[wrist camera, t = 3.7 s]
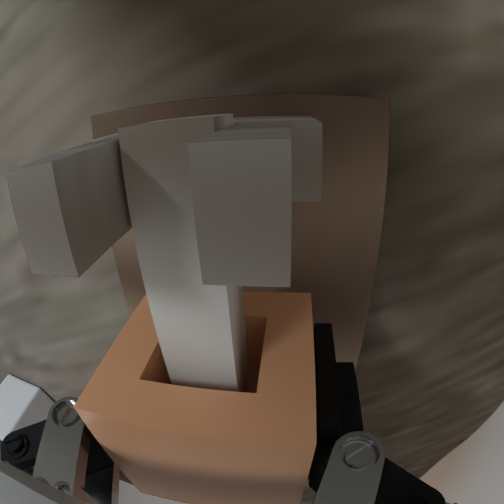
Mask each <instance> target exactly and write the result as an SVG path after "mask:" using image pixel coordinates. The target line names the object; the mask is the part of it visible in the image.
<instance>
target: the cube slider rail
mask: <svg viewBox="0 0 504 504" xmlns="http://www.w3.org/2000/svg"><path fill="white" fill-rule="evenodd" d="M91 121H92V130H93V140H91V142H90V143H87V144H84V145H80V146H77V147H74V148H71V149H68V150H65V151H62V152H59V153H56V154H53V155H50V156H47V157H44V158H41V159H38V160H36V161H33V162H30V163H28V164H25V165H22V166H20V167H17V168H15V169H12V170H10V171H7V172H6V177H7V182H8V187H9V192H10V197H11V201H12V205H13V210H14V214H15V218H16V222H17V225H18V229H19V233H20V236H21V240H22V243H23V247H24V250H25V253H26V256H27V259H28V262H29V265H30V268H31V271H32V274H41V275H53V276H65V277H78V278H79V277H80V276H81V275H82V274H83V273H84V272H85V271H86V270H87V269H88V268H89V267H90V266H91V265H92V264H93V263H94V262H95V261H96V260H97V259H99V258H100V257H101V256H102V255H103V254H104V253H105V252H106V251H107V250H108V249H109V248H110V247H111V246H112V248H113V252H114V257H115V261H116V265H117V269H118V273H119V277H120V281H121V284H122V288H123V292H124V295H125V299H126V302H127V306H128V309H129V313H130V316H131V315H132V314H133V312H134V311H135V309H136V308H137V306H138V305H139V303H140V302H141V300H142V299H143V297H144V296H145V295H147V299H148V303H149V307H150V311H151V315H152V318H153V322H154V326H155V330H156V333H157V337H158V340H159V344H160V347H161V351H162V354H163V358H164V361H165V364H166V367H167V371H168V374H169V377H170V380H171V383H172V385H179V386H187V387H195V388H203V389H212V390H223V391H234V392H247V393H250V383H249V369H248V355H247V340H246V326H245V311H244V296H243V291H253V292H295V293H311V301H312V317H313V327H314V324H315V323H331V324H332V331H333V339H334V347H335V356H336V362H353V364H354V368H355V371H356V367H357V363H358V359H359V355H360V351H361V346H362V342H363V338H364V333H365V328H366V324H367V319H368V314H369V309H370V303H371V298H372V293H373V287H374V281H375V275H376V269H377V262H378V255H379V248H380V241H381V233H382V225H383V216H384V207H385V196H386V184H387V171H388V154H389V128H390V99H380V98H370V97H358V96H343V95H322V94H259V95H237V96H222V97H210V98H199V99H190V100H181V101H173V102H166V103H159V104H152V105H146V106H140V107H134V108H128V109H123V110H118V111H113V112H108V113H103V114H98V115H94V116H91ZM305 488H310V487H309V479H307V482H306V485H305Z"/></svg>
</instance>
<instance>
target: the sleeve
mask: <svg viewBox="0 0 504 504" xmlns="http://www.w3.org/2000/svg"><path fill="white" fill-rule="evenodd" d="M243 296H244V311H245V326H246V340H247V355H248V369H249V383H250V393H247V392H234V391H223V390H212V389H203V388H195V387H187V386H179V385H172V383H171V380H170V377H169V374H168V371H167V367H166V364H165V361H164V358H163V354H162V351H161V347H160V344H159V340H158V337H157V333H156V330H155V326H154V322H153V318H152V315H151V311H150V307H149V303H148V299H147V295H145V296H144V297H143V299H142V300H141V302H140V303H139V305H138V306H137V308H136V309H135V311H134V312H133V314H132V315H131V317H130V318H129V320H128V321H127V323H126V324H125V326H124V327H123V329H122V330H121V332H120V333H119V335H118V336H117V338H116V339H115V341H114V342H113V344H112V346H111V347H110V349H109V350H108V352H107V353H106V355H105V356H104V358H103V360H102V361H101V363H100V364H99V366H98V368H97V369H96V371H95V372H94V374H93V376H92V377H91V379H90V380H89V382H88V384H87V385H86V387H85V389H84V390H83V392H82V394H81V395H80V397H79V399H78V400H77V402H76V404H75V405H74V408H75V410H76V411H77V413H78V414H79V416H80V417H81V419H82V420H83V422H84V423H85V424H86V426H87V427H88V429H89V430H90V431H91V433H92V434H93V435H94V437H95V438H96V439H97V441H98V442H99V443H100V445H101V446H102V447H103V449H104V450H105V451H106V452H107V454H108V455H109V456H110V457H111V459H112V460H113V461H114V462H115V464H116V465H117V466H118V467H119V468H120V470H121V471H122V472H123V473H124V474H125V475H126V476H127V478H128V479H129V480H130V481H131V482H132V483H133V484H134V485H135V487H136V488H137V489H138V490H139V491H140V492H142V493H146V494H150V495H153V496H158V497H161V498H165V499H170V500H174V501H179V502H184V503H189V504H300V502H301V499H302V496H303V492H304V489H305V485H306V482H307V478H308V475H309V471H310V467H311V464H312V460H313V456H314V452H315V448H316V444H317V434H316V383H315V356H314V335H313V317H312V301H311V293H295V292H253V291H243Z"/></svg>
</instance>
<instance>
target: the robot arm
mask: <svg viewBox="0 0 504 504" xmlns="http://www.w3.org/2000/svg"><path fill="white" fill-rule="evenodd" d="M313 335H314V356H315V383H316V434H317V444H316V448H315V452H314V456H313V460H312V464H311V467H310V471H309V475H308V478H307V479H309V487H310V488H312V489H313V490H314V491H315V492H317V493H316V495H315V498H314V500H313V503H312V504H450V503H447V502H445V499H444V497H443V496H442V494H441V493H440V492H439V491H437V490H436V489H434V488H433V487H431V486H429V485H428V484H426V483H424V482H423V481H421V480H420V479H418V478H416V477H415V476H413V475H412V474H410V473H408V472H407V471H405V470H404V469H402V468H401V467H399V466H398V465H396V464H395V463H393V462H392V461H390V460H389V459H387V458H386V457H385V448H384V445H383V443H382V442H381V441H380V439H379V438H378V437H376V436H375V435H373V434H371V433H368V432H364V431H363V423H362V415H361V408H360V400H359V393H358V387H357V380H356V374H355V368H354V364H353V362H336V356H335V347H334V339H333V331H332V324H331V323H315V324H314V327H313ZM77 400H78V398H75V397H65V398H62V399H59V400H58V401H57V402H55V403H54V404H53V405H52V406H51V408H50V410H49V412H48V416H47V419H46V420H43V421H41V422H38V423H35V424H32V425H30V426H27V427H24V428H21V429H18V430H15V431H13V432H11V433H9V434H8V435H7V436H5V438H4V439H3V441H1V440H0V504H118V495H119V475H120V468H119V467H118V466H117V465H116V464H115V462H114V461H113V460H112V459H111V457H110V456H109V455H108V454H107V452H106V451H105V450H104V449H103V447H102V446H101V445H100V443H99V442H98V441H97V439H96V438H95V437H94V435H93V434H92V433H91V431H90V430H89V429H88V427H87V426H86V424H85V423H84V422H83V420H82V419H81V417H80V416H79V414H78V413H77V411H76V410H75V408H74V405H75V404H76V402H77ZM454 504H457V503H454Z"/></svg>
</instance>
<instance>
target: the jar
mask: <svg viewBox="0 0 504 504" xmlns="http://www.w3.org/2000/svg"><path fill="white" fill-rule="evenodd" d="M54 403H55V402H54V401H53V400H52V399H51V398H50V397H49V396H48V395H47V394H46V393H45V392H44V391H43V390H42V389H41V388H40V387H37V386H35V385H33V384H30V383H28V382H26V381H23V380H21V379H19V378H17V377H15V376H13V375H10V374H9V375H7V376H6V378H5V379H4V380H3V382H2V383H1V384H0V440H1V441H3V439H4V438H5V436H7V435H8V434H9V433H11V432H13V431H15V430H18V429H21V428H24V427H27V426H30V425H32V424H35V423H38V422H41V421H43V420H46V419H47V416H48V412H49V410H50V408H51V406H52V405H53V404H54Z"/></svg>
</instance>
